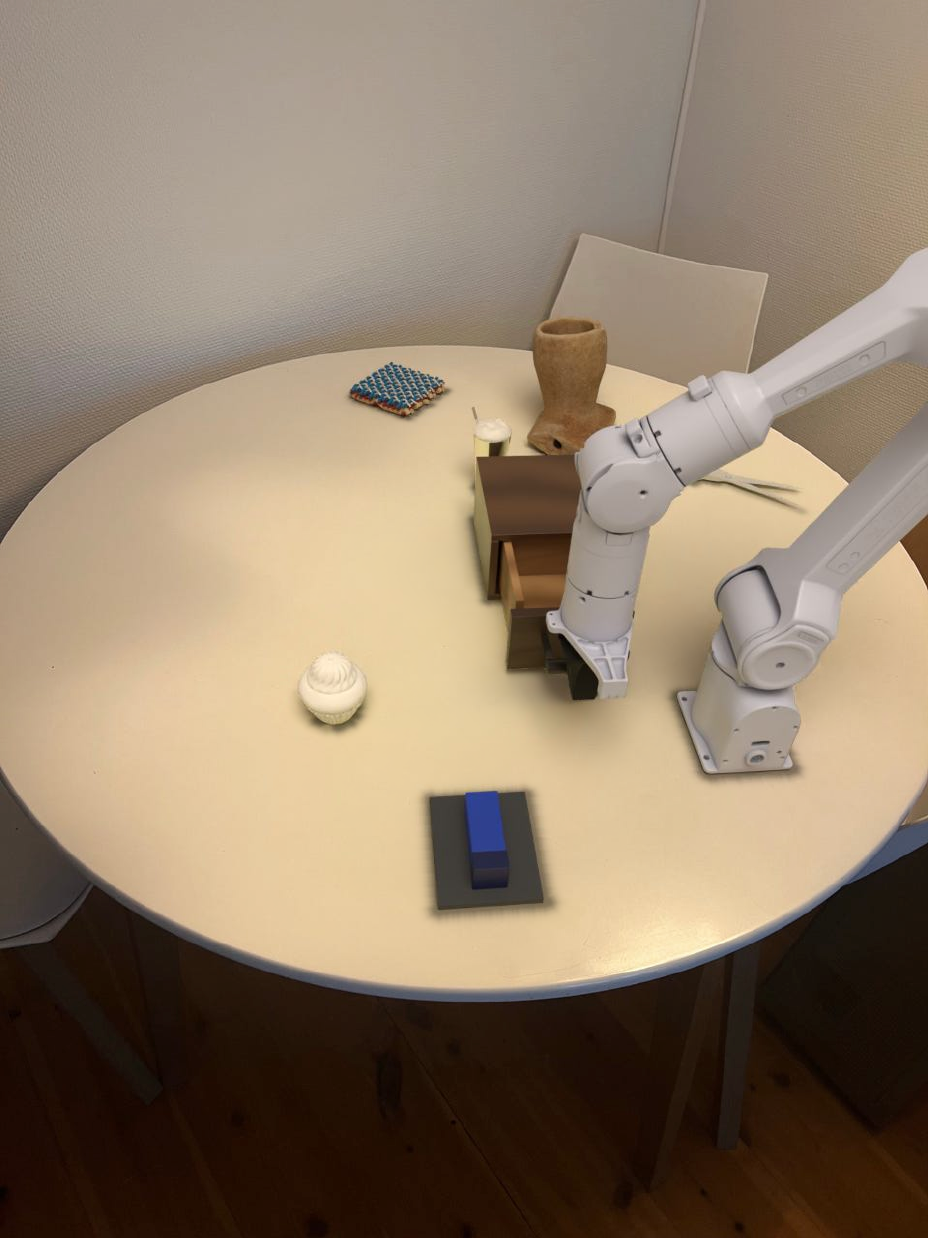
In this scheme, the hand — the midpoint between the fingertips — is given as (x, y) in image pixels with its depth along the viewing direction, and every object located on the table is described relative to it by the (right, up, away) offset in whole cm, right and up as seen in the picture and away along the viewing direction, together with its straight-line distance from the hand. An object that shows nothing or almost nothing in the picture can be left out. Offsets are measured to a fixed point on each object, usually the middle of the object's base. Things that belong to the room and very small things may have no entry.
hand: (582, 694), depth 78 cm
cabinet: (-2, +14, +21) cm, 25 cm away
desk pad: (-9, -12, -8) cm, 17 cm away
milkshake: (-8, +23, +31) cm, 39 cm away
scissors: (+22, +24, +34) cm, 47 cm away
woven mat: (-20, +38, +48) cm, 65 cm away
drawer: (-1, +5, +10) cm, 11 cm away
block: (-9, -11, -8) cm, 16 cm away
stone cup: (+3, +31, +41) cm, 52 cm away
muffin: (-22, -2, +3) cm, 23 cm away
